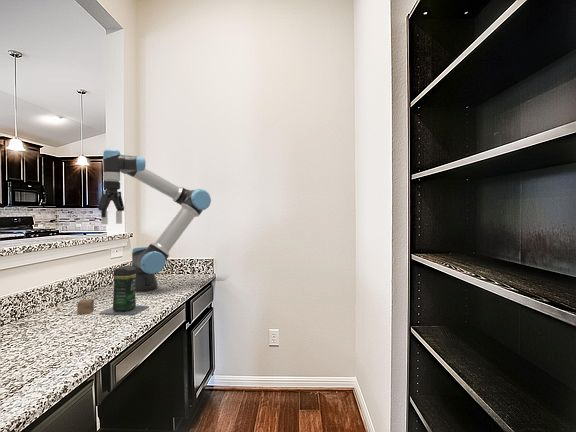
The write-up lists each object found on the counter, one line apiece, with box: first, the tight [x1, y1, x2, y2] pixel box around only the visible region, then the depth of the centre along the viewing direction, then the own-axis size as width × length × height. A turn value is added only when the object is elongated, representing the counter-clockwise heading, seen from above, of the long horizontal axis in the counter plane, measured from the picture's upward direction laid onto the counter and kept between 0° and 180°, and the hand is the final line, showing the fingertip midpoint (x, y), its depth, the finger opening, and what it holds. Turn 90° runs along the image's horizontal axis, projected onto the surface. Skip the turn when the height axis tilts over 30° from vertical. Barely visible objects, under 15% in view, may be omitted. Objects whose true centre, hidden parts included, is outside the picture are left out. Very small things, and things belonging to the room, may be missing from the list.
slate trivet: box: [99, 305, 150, 316], centre depth 156 cm, size 13×15×1 cm
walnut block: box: [76, 298, 95, 316], centre depth 154 cm, size 5×5×5 cm
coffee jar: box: [112, 265, 137, 312], centre depth 156 cm, size 10×8×19 cm
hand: (112, 224), depth 181 cm, fingers open, 13 cm apart
